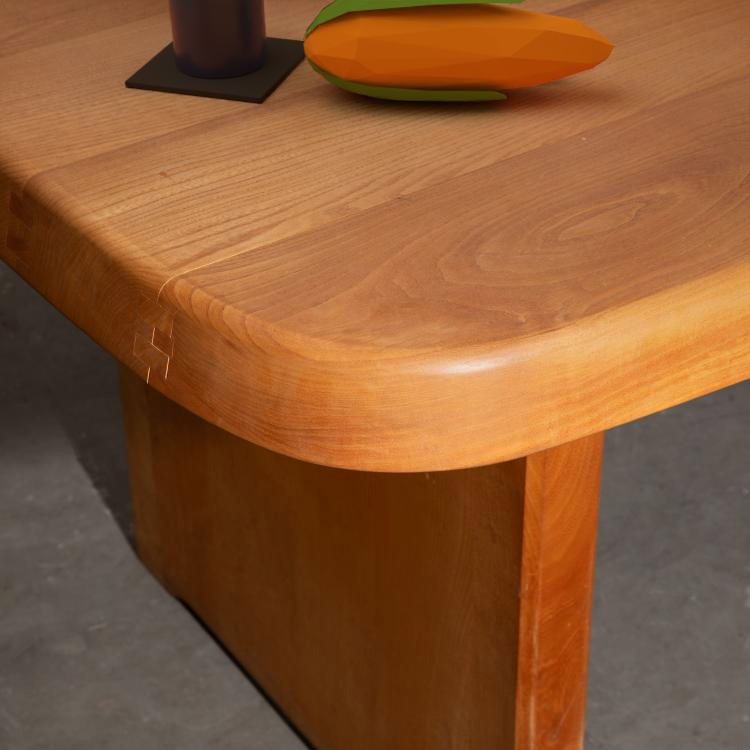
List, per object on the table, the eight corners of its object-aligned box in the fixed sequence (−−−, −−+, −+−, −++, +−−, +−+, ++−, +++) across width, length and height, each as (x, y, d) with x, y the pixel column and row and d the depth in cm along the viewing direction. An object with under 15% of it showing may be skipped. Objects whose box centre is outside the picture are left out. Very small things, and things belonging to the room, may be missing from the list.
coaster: (315, 47, 103) (315, 41, 103) (261, 103, 96) (260, 97, 95) (187, 33, 106) (187, 28, 106) (125, 87, 98) (124, 81, 98)
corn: (307, -40, 95) (615, -39, 93) (314, 66, 100) (607, 69, 98) (293, 8, 89) (620, 10, 88) (301, 119, 94) (612, 123, 92)
